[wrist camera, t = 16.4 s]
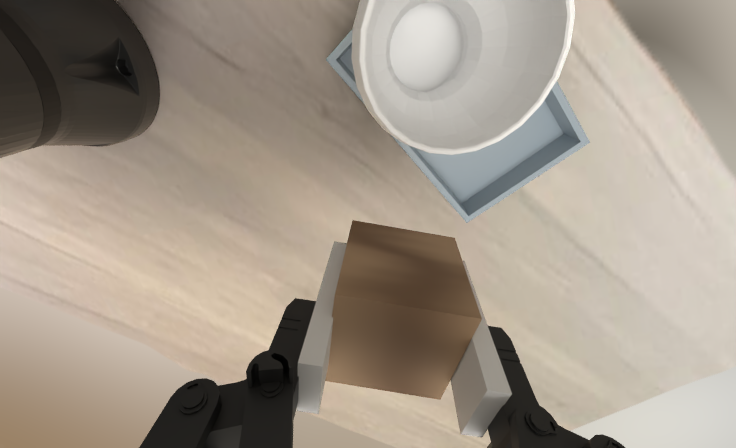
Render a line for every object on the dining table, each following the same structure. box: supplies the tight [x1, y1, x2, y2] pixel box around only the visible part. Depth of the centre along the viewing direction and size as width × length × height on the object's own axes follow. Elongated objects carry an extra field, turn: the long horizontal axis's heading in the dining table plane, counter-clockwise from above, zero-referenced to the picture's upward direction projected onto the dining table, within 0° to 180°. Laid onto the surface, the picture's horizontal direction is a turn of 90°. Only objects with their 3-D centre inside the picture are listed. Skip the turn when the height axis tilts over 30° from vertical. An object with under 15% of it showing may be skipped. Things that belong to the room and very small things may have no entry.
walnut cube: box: [325, 220, 482, 399], centre depth 13 cm, size 5×5×5 cm
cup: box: [351, 0, 575, 155], centre depth 20 cm, size 11×11×15 cm
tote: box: [326, 29, 590, 223], centre depth 27 cm, size 21×13×4 cm, turn 43°
